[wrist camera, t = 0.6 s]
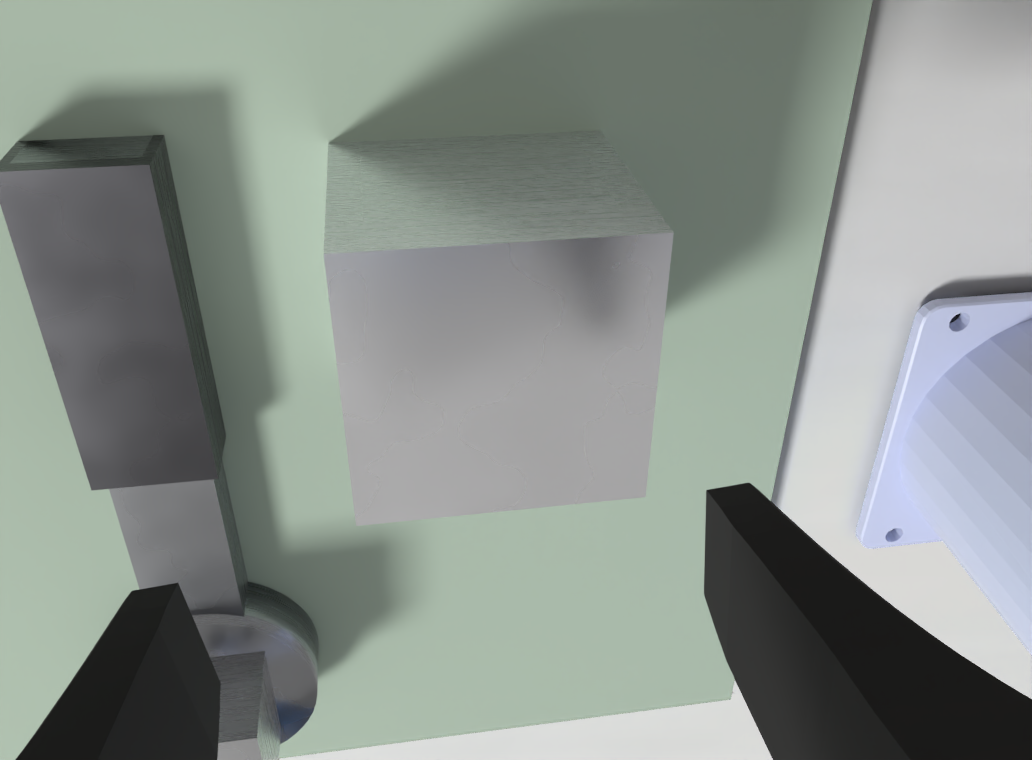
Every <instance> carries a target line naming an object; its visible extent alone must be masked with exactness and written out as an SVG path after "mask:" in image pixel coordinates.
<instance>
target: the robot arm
mask: <svg viewBox="0 0 1032 760" xmlns="http://www.w3.org/2000/svg"><path fill="white" fill-rule="evenodd" d="M960 313H961V314H960ZM957 314H960V316H959V318H958V319H957V320H955V321H954V322H952V323H950V321H951V319H952V318H953V317H954V316H956V315H957ZM890 530H891V531H890ZM856 536H857V538H858V539H859V541H860V542H861V544H862V545H863V546H864V547H866V548H873V549H874V548H883V547H892V546H901V545H910V544H919V543H928V542H937V541H943V542H944V544H945V545H946V546H947V547H948V549H949V550H950V551H951V553H952V554H953V555H954V556H955V558H956V559H957V560H958V562H959V563H960V564H961V565H962V567H963V568H964V569H965V571H966V572H967V573H968V574H969V576H970V577H971V578H972V580H973V581H974V582H975V583H976V585H977V586H978V587H979V589H980V590H981V591H982V592H983V594H984V595H985V596H986V598H987V599H988V600H989V601H990V603H991V604H992V605H993V607H994V608H995V609H996V610H997V612H998V613H999V614H1000V616H1001V617H1002V618H1003V619H1004V621H1005V622H1006V623H1007V625H1008V626H1009V627H1010V628H1011V630H1012V631H1013V632H1014V634H1015V635H1016V636H1017V637H1018V639H1019V640H1020V641H1021V643H1022V644H1023V645H1024V646H1025V648H1026V649H1027V650H1028V652H1029V653H1030V654H1031V655H1032V292H1025V293H1012V294H998V295H985V296H971V297H957V298H944V299H936V300H932V301H930V302H928V303H926V304H925V305H923V306H922V307H921V308H920V309H919V310H918V312H917V314H916V316H915V318H914V321H913V325H912V328H911V332H910V336H909V339H908V343H907V347H906V350H905V354H904V357H903V361H902V365H901V368H900V372H899V376H898V379H897V383H896V387H895V390H894V394H893V397H892V401H891V405H890V408H889V412H888V416H887V419H886V423H885V426H884V430H883V434H882V437H881V441H880V445H879V448H878V452H877V455H876V459H875V463H874V466H873V470H872V474H871V477H870V481H869V485H868V488H867V492H866V495H865V499H864V503H863V506H862V510H861V514H860V517H859V521H858V524H857V528H856ZM704 596H705V599H706V602H707V605H708V608H709V611H710V614H711V617H712V620H713V624H714V627H715V630H716V633H717V635H718V638H719V641H720V644H721V647H722V650H723V653H724V655H725V658H726V661H727V663H728V665H729V668H730V670H731V672H732V674H733V676H734V678H735V681H736V683H737V685H738V687H739V689H740V691H741V693H742V695H743V697H744V700H745V702H746V704H747V706H748V708H749V710H750V712H751V714H752V716H753V719H754V721H755V723H756V725H757V727H758V729H759V731H760V733H761V735H762V737H763V739H764V741H765V744H766V746H767V748H768V750H769V752H770V754H771V756H772V758H773V760H1032V699H1030V698H1028V697H1027V696H1025V695H1023V694H1022V693H1020V692H1018V691H1017V690H1015V689H1013V688H1012V687H1010V686H1008V685H1007V684H1005V683H1003V682H1002V681H1000V680H998V679H997V678H995V677H994V676H992V675H991V674H989V673H988V672H986V671H984V670H983V669H981V668H980V667H978V666H977V665H975V664H974V663H972V662H971V661H969V660H967V659H966V658H964V657H963V656H961V655H960V654H958V653H957V652H955V651H954V650H952V649H951V648H950V647H948V646H947V645H945V644H944V643H942V642H941V641H940V640H938V639H937V638H935V637H934V636H933V635H931V634H930V633H928V632H927V631H926V630H924V629H923V628H922V627H920V626H919V625H917V624H916V623H915V622H913V621H912V620H911V619H909V618H908V617H907V616H905V615H904V614H903V613H901V612H900V611H899V610H897V609H896V608H895V607H893V606H892V605H891V604H890V603H888V602H887V601H886V600H885V599H883V598H882V597H881V596H879V595H878V594H877V593H876V592H874V591H873V590H872V589H871V588H869V587H868V586H867V585H866V584H865V583H863V582H862V581H861V580H860V579H859V578H857V577H856V576H855V575H854V574H853V573H851V572H850V571H849V570H848V569H847V568H845V567H844V566H843V565H842V564H840V563H839V562H838V561H837V560H836V559H835V558H833V557H832V556H831V555H830V554H829V553H828V552H826V551H825V550H824V549H823V548H822V547H821V546H820V545H818V544H817V543H816V542H815V541H814V540H813V539H812V538H811V537H809V536H808V535H807V534H806V533H805V532H804V531H803V530H802V529H800V528H799V527H798V526H797V525H796V524H795V523H794V522H793V521H792V520H791V519H790V518H788V517H787V516H786V515H785V514H784V513H783V512H782V511H781V510H780V509H779V508H778V507H776V506H775V505H774V504H773V503H772V502H771V501H770V500H769V499H768V498H767V497H766V496H765V495H764V494H763V493H761V492H760V491H759V490H758V489H757V488H756V487H755V486H753V485H752V484H751V483H743V484H738V485H732V486H726V487H721V488H715V489H709V490H706V524H705V566H704ZM220 689H221V682H220V680H219V678H218V675H217V673H216V671H215V668H214V666H213V664H212V661H211V659H210V656H209V654H208V652H207V649H206V647H205V645H204V642H203V640H202V638H201V635H200V633H199V631H198V628H197V626H196V624H195V621H194V619H193V617H192V614H191V612H190V609H189V607H188V605H187V602H186V600H185V598H184V595H183V593H182V591H181V588H180V586H179V584H178V583H174V584H168V585H162V586H157V587H151V588H145V589H139V590H134V591H131V592H130V594H129V595H128V596H127V598H126V599H125V600H124V602H123V603H122V605H121V606H120V608H119V609H118V611H117V612H116V614H115V615H114V617H113V618H112V620H111V621H110V623H109V625H108V626H107V628H106V629H105V631H104V632H103V634H102V635H101V637H100V638H99V640H98V641H97V643H96V644H95V646H94V647H93V649H92V650H91V652H90V654H89V655H88V657H87V658H86V660H85V661H84V663H83V664H82V666H81V667H80V669H79V670H78V672H77V673H76V675H75V676H74V678H73V679H72V681H71V682H70V684H69V685H68V686H67V688H66V689H65V691H64V692H63V694H62V695H61V697H60V698H59V699H58V701H57V702H56V704H55V705H54V707H53V708H52V709H51V711H50V712H49V714H48V715H47V717H46V718H45V719H44V721H43V722H42V724H41V725H40V727H39V728H38V730H37V731H36V732H35V734H34V735H33V737H32V738H31V739H30V741H29V742H28V743H27V745H26V746H25V748H24V749H23V750H22V752H21V753H20V754H19V755H18V757H17V758H16V759H15V760H217V757H218V740H219V720H220Z"/></svg>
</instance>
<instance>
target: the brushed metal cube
mask: <svg viewBox="0 0 1032 760" xmlns="http://www.w3.org/2000/svg"><path fill="white" fill-rule="evenodd" d="M673 235H674V232H673V231H672V230H671V228H670V227H669V225H668V224H667V223H666V221H665V220H664V218H663V217H662V216H661V214H660V213H659V211H658V210H657V209H656V207H655V206H654V204H653V203H652V202H651V200H650V199H649V197H648V196H647V195H646V193H645V192H644V190H643V189H642V188H641V186H640V185H639V183H638V182H637V181H636V179H635V178H634V176H633V175H632V174H631V172H630V171H629V169H628V168H627V167H626V165H625V164H624V162H623V161H622V160H621V158H620V157H619V155H618V154H617V153H616V151H615V150H614V148H613V147H612V146H611V144H610V143H609V141H608V140H607V139H606V137H605V136H604V134H603V133H602V132H601V130H599V131H578V132H556V133H534V134H512V135H490V136H469V137H447V138H425V139H403V140H381V141H360V142H338V143H328V160H327V184H326V207H325V231H324V262H325V271H326V279H327V287H328V296H329V304H330V312H331V321H332V329H333V338H334V346H335V354H336V363H337V371H338V379H339V388H340V396H341V404H342V413H343V421H344V430H345V438H346V446H347V455H348V463H349V471H350V480H351V488H352V497H353V505H354V513H355V522H356V526H361V525H371V524H381V523H391V522H402V521H412V520H422V519H432V518H442V517H452V516H462V515H472V514H482V513H492V512H502V511H512V510H522V509H532V508H542V507H552V506H562V505H572V504H582V503H592V502H602V501H613V500H623V499H633V498H643V497H646V489H647V479H648V470H649V460H650V451H651V441H652V432H653V423H654V413H655V404H656V394H657V385H658V376H659V366H660V357H661V347H662V338H663V329H664V319H665V310H666V300H667V291H668V282H669V272H670V263H671V253H672V244H673Z"/></svg>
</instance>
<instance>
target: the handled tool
mask: <svg viewBox="0 0 1032 760" xmlns="http://www.w3.org/2000/svg"><path fill="white" fill-rule="evenodd" d="M0 205H1V209H2V212H3V215H4V218H5V221H6V224H7V227H8V231H9V234H10V237H11V240H12V243H13V246H14V249H15V252H16V256H17V259H18V262H19V265H20V268H21V271H22V274H23V278H24V281H25V284H26V287H27V290H28V293H29V296H30V299H31V303H32V306H33V309H34V312H35V315H36V318H37V321H38V325H39V328H40V331H41V334H42V337H43V340H44V343H45V346H46V350H47V353H48V356H49V359H50V362H51V365H52V368H53V372H54V375H55V378H56V381H57V384H58V387H59V390H60V393H61V397H62V400H63V403H64V406H65V409H66V412H67V415H68V419H69V422H70V425H71V428H72V431H73V434H74V437H75V440H76V444H77V447H78V450H79V453H80V456H81V459H82V462H83V466H84V469H85V472H86V475H87V478H88V481H89V484H90V487H91V491H92V490H103V489H109V491H110V494H111V498H112V501H113V504H114V507H115V511H116V514H117V517H118V521H119V524H120V527H121V530H122V534H123V537H124V540H125V543H126V547H127V550H128V553H129V557H130V560H131V563H132V566H133V570H134V573H135V576H136V579H137V583H138V586H139V589H145V588H151V587H157V586H162V585H168V584H174V583H178V584H179V586H180V588H181V591H182V593H183V595H184V598H185V600H186V602H187V605H188V607H189V609H190V612H191V614H192V617H193V619H194V621H195V624H196V626H197V628H198V631H199V633H200V635H201V638H202V640H203V642H204V645H205V647H206V649H207V652H208V654H209V656H210V659H211V661H212V664H213V666H214V668H215V671H216V673H217V675H218V678H219V680H220V682H221V689H220V720H219V740H218V757H217V760H279V751H280V744H282V743H283V742H285V741H287V740H288V739H290V738H291V737H292V736H294V735H295V734H296V733H297V732H298V731H299V730H300V729H301V728H302V727H303V726H304V725H305V724H306V722H307V721H308V720H309V718H310V716H311V715H312V713H313V711H314V708H315V705H316V701H317V691H318V656H319V642H318V635H317V631H316V628H315V626H314V624H313V622H312V620H311V618H310V617H309V616H308V614H307V613H306V612H305V611H304V610H303V609H302V608H301V607H300V606H299V605H298V604H297V603H296V602H294V601H293V600H292V599H291V598H289V597H287V596H286V595H284V594H282V593H280V592H278V591H276V590H274V589H272V588H269V587H266V586H263V585H260V584H257V583H253V582H248V577H247V572H246V568H245V563H244V558H243V554H242V549H241V544H240V540H239V535H238V530H237V526H236V521H235V516H234V512H233V507H232V502H231V498H230V493H229V488H228V484H227V479H226V474H225V470H224V465H223V460H222V456H223V450H224V445H225V439H226V431H225V426H224V422H223V417H222V412H221V407H220V402H219V397H218V393H217V388H216V383H215V378H214V373H213V368H212V364H211V359H210V354H209V349H208V344H207V339H206V335H205V330H204V325H203V320H202V315H201V310H200V306H199V301H198V296H197V291H196V286H195V281H194V277H193V272H192V267H191V262H190V257H189V252H188V248H187V243H186V238H185V233H184V228H183V223H182V219H181V214H180V209H179V204H178V199H177V194H176V190H175V185H174V180H173V175H172V170H171V165H170V161H169V156H168V151H167V146H166V141H165V136H164V135H147V136H124V137H101V138H79V139H56V140H33V141H17V142H16V143H15V144H14V146H13V147H12V148H11V149H10V150H9V151H8V152H7V153H6V155H5V156H4V157H3V158H2V159H1V160H0Z"/></svg>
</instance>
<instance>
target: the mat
mask: <svg viewBox="0 0 1032 760" xmlns="http://www.w3.org/2000/svg"><path fill="white" fill-rule="evenodd" d="M872 2H873V0H0V160H1V159H2V158H3V157H4V156H5V155H6V153H7V152H8V151H9V150H10V149H11V148H12V147H13V146H14V144H15V143H16V142H17V141H33V140H56V139H79V138H101V137H124V136H147V135H164V136H165V141H166V146H167V151H168V156H169V161H170V165H171V170H172V175H173V180H174V185H175V190H176V194H177V199H178V204H179V209H180V214H181V219H182V223H183V228H184V233H185V238H186V243H187V248H188V252H189V257H190V262H191V267H192V272H193V277H194V281H195V286H196V291H197V296H198V301H199V306H200V310H201V315H202V320H203V325H204V330H205V335H206V339H207V344H208V349H209V354H210V359H211V364H212V368H213V373H214V378H215V383H216V388H217V393H218V397H219V402H220V407H221V412H222V417H223V422H224V426H225V431H226V439H225V445H224V450H223V456H222V460H223V465H224V470H225V474H226V479H227V484H228V488H229V493H230V498H231V502H232V507H233V512H234V516H235V521H236V526H237V530H238V535H239V540H240V544H241V549H242V554H243V558H244V563H245V568H246V572H247V577H248V582H253V583H257V584H260V585H263V586H266V587H269V588H272V589H274V590H276V591H278V592H280V593H282V594H284V595H286V596H287V597H289V598H291V599H292V600H293V601H294V602H296V603H297V604H298V605H299V606H300V607H301V608H302V609H303V610H304V611H305V612H306V613H307V614H308V616H309V617H310V618H311V620H312V622H313V624H314V626H315V628H316V631H317V635H318V642H319V656H318V691H317V701H316V705H315V708H314V711H313V713H312V715H311V716H310V718H309V720H308V721H307V722H306V724H305V725H304V726H303V727H302V728H301V729H300V730H299V731H298V732H297V733H296V734H295V735H294V736H292V737H291V738H290V739H288V740H287V741H285V742H283V743H282V744H280V751H279V758H286V757H294V756H301V755H309V754H317V753H324V752H332V751H340V750H347V749H355V748H363V747H370V746H378V745H386V744H393V743H401V742H409V741H416V740H424V739H432V738H439V737H447V736H455V735H462V734H470V733H478V732H485V731H493V730H501V729H508V728H516V727H524V726H531V725H539V724H547V723H554V722H562V721H570V720H577V719H585V718H592V717H600V716H608V715H615V714H623V713H631V712H638V711H646V710H654V709H661V708H669V707H677V706H684V705H692V704H700V703H707V702H715V701H723V700H730V699H731V695H732V690H733V685H734V680H735V678H734V676H733V674H732V672H731V670H730V668H729V665H728V663H727V661H726V658H725V655H724V653H723V650H722V647H721V644H720V641H719V638H718V635H717V633H716V630H715V627H714V624H713V620H712V617H711V614H710V611H709V608H708V605H707V602H706V599H705V596H704V566H705V524H706V490H709V489H715V488H721V487H726V486H732V485H738V484H743V483H751V484H752V485H753V486H755V487H756V488H757V489H758V490H759V491H760V492H761V493H763V494H764V495H765V496H766V497H767V498H768V499H769V500H770V501H771V498H772V494H773V489H774V484H775V479H776V474H777V469H778V464H779V459H780V454H781V449H782V444H783V439H784V435H785V430H786V425H787V420H788V415H789V410H790V405H791V400H792V395H793V390H794V385H795V381H796V376H797V371H798V366H799V361H800V356H801V351H802V346H803V341H804V336H805V331H806V326H807V322H808V317H809V312H810V307H811V302H812V297H813V292H814V287H815V282H816V277H817V272H818V268H819V263H820V258H821V253H822V248H823V243H824V238H825V233H826V228H827V223H828V218H829V214H830V209H831V204H832V199H833V194H834V189H835V184H836V179H837V174H838V169H839V164H840V159H841V155H842V150H843V145H844V140H845V135H846V130H847V125H848V120H849V115H850V110H851V105H852V101H853V96H854V91H855V86H856V81H857V76H858V71H859V66H860V61H861V56H862V51H863V46H864V42H865V37H866V32H867V27H868V22H869V17H870V12H871V7H872ZM599 130H601V132H602V133H603V134H604V136H605V137H606V139H607V140H608V141H609V143H610V144H611V146H612V147H613V148H614V150H615V151H616V153H617V154H618V155H619V157H620V158H621V160H622V161H623V162H624V164H625V165H626V167H627V168H628V169H629V171H630V172H631V174H632V175H633V176H634V178H635V179H636V181H637V182H638V183H639V185H640V186H641V188H642V189H643V190H644V192H645V193H646V195H647V196H648V197H649V199H650V200H651V202H652V203H653V204H654V206H655V207H656V209H657V210H658V211H659V213H660V214H661V216H662V217H663V218H664V220H665V221H666V223H667V224H668V225H669V227H670V228H671V230H672V231H673V232H674V235H673V244H672V253H671V263H670V272H669V282H668V291H667V300H666V310H665V319H664V329H663V338H662V347H661V357H660V366H659V376H658V385H657V394H656V404H655V413H654V423H653V432H652V441H651V451H650V460H649V470H648V479H647V489H646V497H643V498H633V499H623V500H613V501H602V502H592V503H582V504H572V505H562V506H552V507H542V508H532V509H522V510H512V511H502V512H492V513H482V514H472V515H462V516H452V517H442V518H432V519H422V520H412V521H402V522H391V523H381V524H371V525H361V526H356V522H355V513H354V505H353V497H352V488H351V480H350V471H349V463H348V455H347V446H346V438H345V430H344V421H343V413H342V404H341V396H340V388H339V379H338V371H337V363H336V354H335V346H334V338H333V329H332V321H331V312H330V304H329V296H328V287H327V279H326V271H325V262H324V231H325V207H326V184H327V160H328V143H338V142H360V141H381V140H403V139H425V138H447V137H469V136H490V135H512V134H534V133H556V132H578V131H599ZM134 590H139V586H138V583H137V579H136V576H135V573H134V570H133V566H132V563H131V560H130V557H129V553H128V550H127V547H126V543H125V540H124V537H123V534H122V530H121V527H120V524H119V521H118V517H117V514H116V511H115V507H114V504H113V501H112V498H111V494H110V491H109V489H103V490H92V491H91V487H90V484H89V481H88V478H87V475H86V472H85V469H84V466H83V462H82V459H81V456H80V453H79V450H78V447H77V444H76V440H75V437H74V434H73V431H72V428H71V425H70V422H69V419H68V415H67V412H66V409H65V406H64V403H63V400H62V397H61V393H60V390H59V387H58V384H57V381H56V378H55V375H54V372H53V368H52V365H51V362H50V359H49V356H48V353H47V350H46V346H45V343H44V340H43V337H42V334H41V331H40V328H39V325H38V321H37V318H36V315H35V312H34V309H33V306H32V303H31V299H30V296H29V293H28V290H27V287H26V284H25V281H24V278H23V274H22V271H21V268H20V265H19V262H18V259H17V256H16V252H15V249H14V246H13V243H12V240H11V237H10V234H9V231H8V227H7V224H6V221H5V218H4V215H3V212H2V209H1V205H0V760H15V759H16V758H17V757H18V755H19V754H20V753H21V752H22V750H23V749H24V748H25V746H26V745H27V743H28V742H29V741H30V739H31V738H32V737H33V735H34V734H35V732H36V731H37V730H38V728H39V727H40V725H41V724H42V722H43V721H44V719H45V718H46V717H47V715H48V714H49V712H50V711H51V709H52V708H53V707H54V705H55V704H56V702H57V701H58V699H59V698H60V697H61V695H62V694H63V692H64V691H65V689H66V688H67V686H68V685H69V684H70V682H71V681H72V679H73V678H74V676H75V675H76V673H77V672H78V670H79V669H80V667H81V666H82V664H83V663H84V661H85V660H86V658H87V657H88V655H89V654H90V652H91V650H92V649H93V647H94V646H95V644H96V643H97V641H98V640H99V638H100V637H101V635H102V634H103V632H104V631H105V629H106V628H107V626H108V625H109V623H110V621H111V620H112V618H113V617H114V615H115V614H116V612H117V611H118V609H119V608H120V606H121V605H122V603H123V602H124V600H125V599H126V598H127V596H128V595H129V594H130V592H131V591H134Z"/></svg>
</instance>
